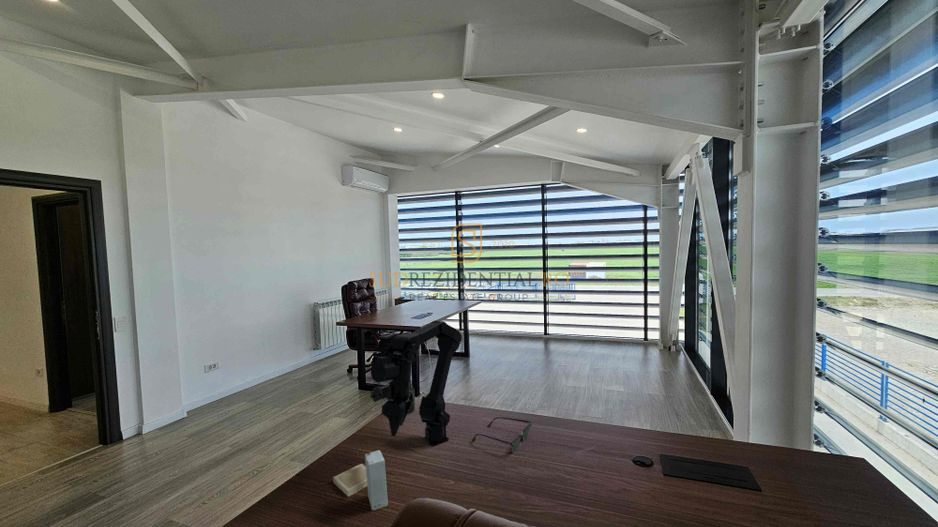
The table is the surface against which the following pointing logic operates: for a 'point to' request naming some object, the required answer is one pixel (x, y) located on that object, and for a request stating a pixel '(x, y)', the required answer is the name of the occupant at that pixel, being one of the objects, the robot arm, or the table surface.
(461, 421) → the table surface
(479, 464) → the table surface
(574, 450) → the table surface
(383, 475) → the skincare box
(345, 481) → the plinth
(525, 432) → the sunglasses
